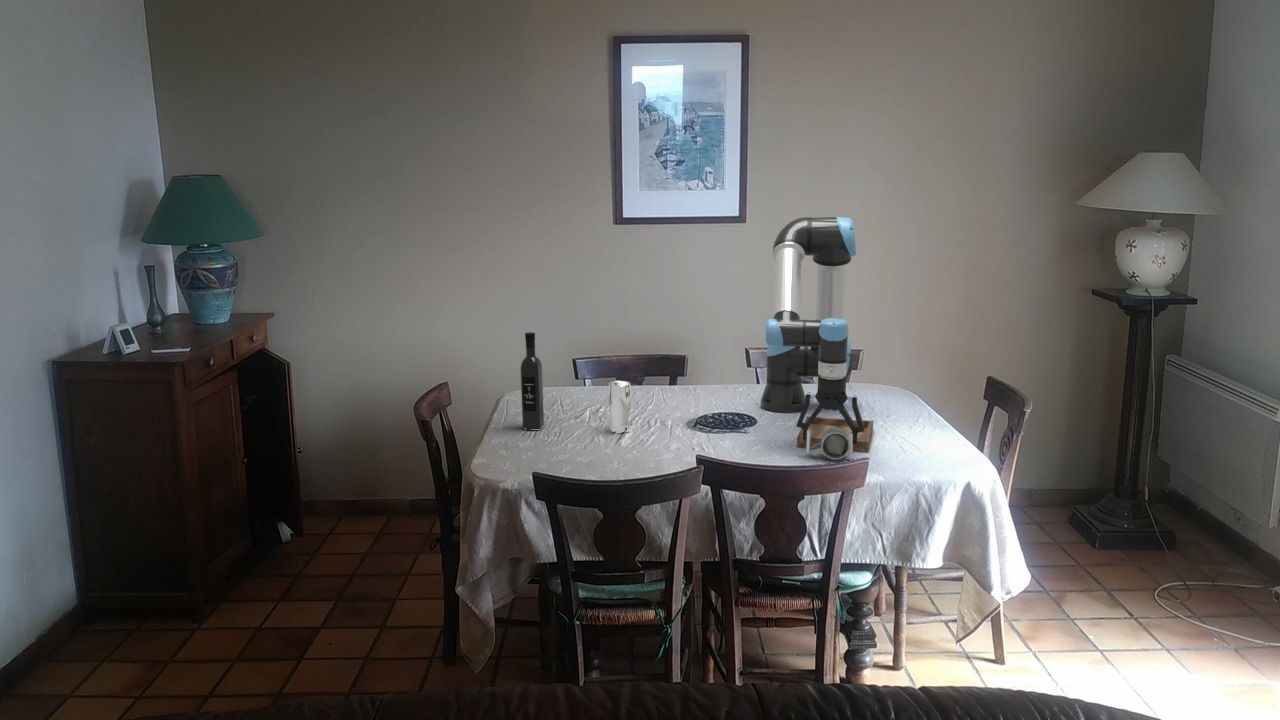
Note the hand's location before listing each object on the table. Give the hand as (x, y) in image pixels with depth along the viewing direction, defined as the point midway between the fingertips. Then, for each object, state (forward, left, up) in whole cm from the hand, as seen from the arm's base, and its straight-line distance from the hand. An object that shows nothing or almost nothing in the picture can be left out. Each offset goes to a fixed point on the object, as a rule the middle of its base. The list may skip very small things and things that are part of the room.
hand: (829, 453), depth 259 cm
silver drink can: (-64, +10, -2) cm, 65 cm away
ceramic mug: (0, 0, -1) cm, 1 cm away
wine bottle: (-91, +6, -2) cm, 91 cm away
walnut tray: (0, +19, -1) cm, 19 cm away
